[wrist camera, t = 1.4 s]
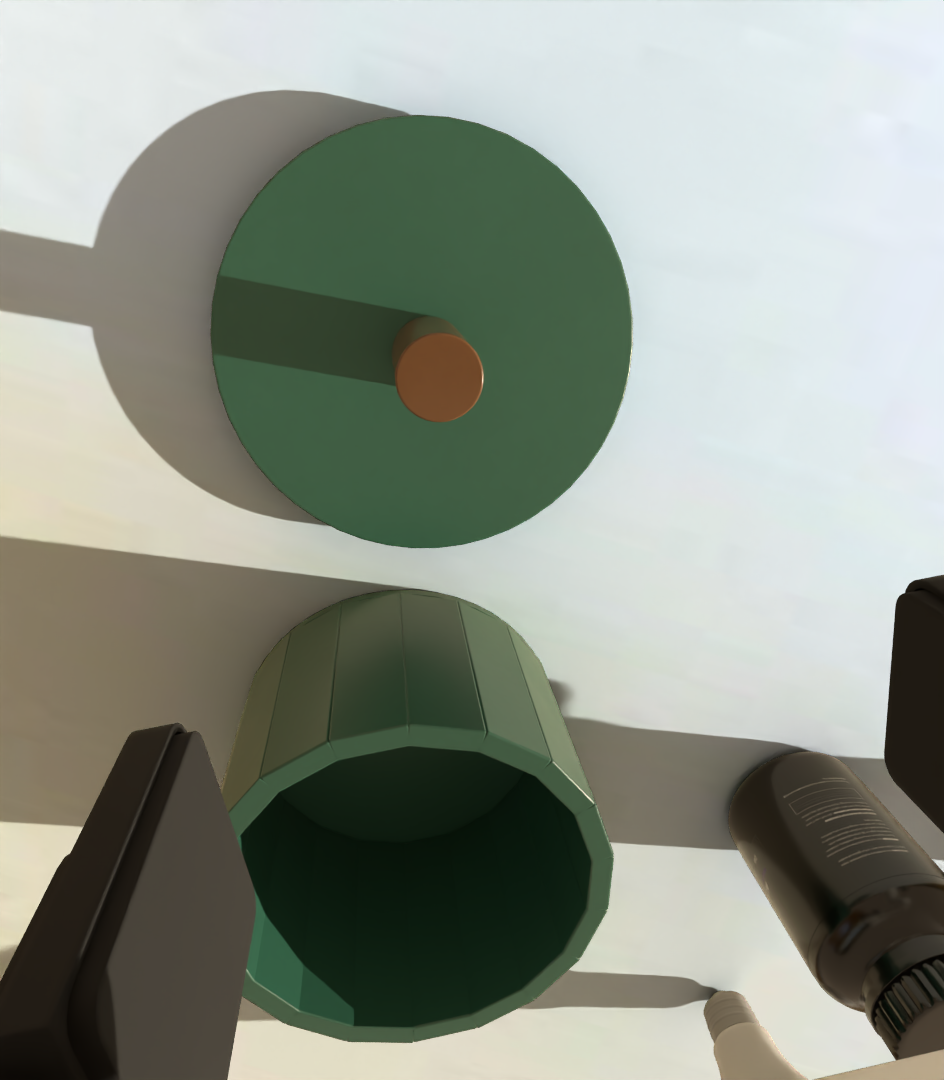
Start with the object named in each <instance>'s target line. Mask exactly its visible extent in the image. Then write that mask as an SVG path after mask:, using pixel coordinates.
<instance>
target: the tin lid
mask: <svg viewBox="0 0 944 1080" xmlns="http://www.w3.org/2000/svg"><path fill="white" fill-rule="evenodd" d="M210 334H211V346H212V358H213V366H214V370H215V375H216V379H217V384H218V389H219V392H220V395H221V398H222V401H223V404H224V406H225V409H226V412H227V415H228V418H229V420H230V422H231V424H232V426H233V428H234V430H235V431H236V433H237V435H238V437H239V439H240V441H241V443H242V445H243V446H244V448H245V449H246V451H247V452H248V453H249V455H250V456H251V458H252V459H253V461H254V462H255V464H256V465H257V466H258V468H259V469H260V470H261V471H262V472H263V473H264V474H265V476H266V477H267V478H268V479H269V480H270V481H271V482H272V484H273V485H274V486H275V487H276V488H278V489H279V490H280V491H281V492H282V493H283V494H284V495H285V496H287V497H288V498H289V499H290V500H291V501H292V502H293V503H294V504H296V505H297V506H299V507H300V508H302V509H303V510H305V511H306V512H308V513H309V514H310V515H312V516H313V517H315V518H316V519H318V520H320V521H322V522H324V523H326V524H328V525H330V526H332V527H334V528H336V529H337V530H340V531H342V532H345V533H348V534H350V535H353V536H356V537H358V538H361V539H364V540H368V541H372V542H376V543H381V544H385V545H391V546H399V547H408V548H440V547H448V546H456V545H463V544H467V543H471V542H475V541H478V540H482V539H486V538H489V537H491V536H494V535H497V534H499V533H502V532H504V531H507V530H509V529H511V528H513V527H515V526H517V525H519V524H521V523H523V522H524V521H526V520H528V519H530V518H532V517H533V516H535V515H536V514H538V513H539V512H540V511H542V510H543V509H545V508H546V507H548V506H549V505H550V504H552V503H553V502H554V501H555V500H556V499H557V498H559V497H560V496H561V495H562V494H563V493H564V492H565V491H566V490H567V489H569V488H570V487H571V486H572V484H573V483H574V482H575V481H576V480H577V479H578V478H579V477H580V475H581V474H582V473H583V472H584V471H585V470H586V469H587V467H588V466H589V464H590V463H591V462H592V460H593V459H594V457H595V456H596V454H597V453H598V451H599V450H600V448H601V447H602V445H603V443H604V441H605V439H606V438H607V436H608V434H609V432H610V430H611V428H612V426H613V424H614V422H615V419H616V416H617V414H618V411H619V408H620V406H621V403H622V401H623V398H624V393H625V389H626V385H627V381H628V377H629V373H630V365H631V356H632V347H633V319H632V310H631V303H630V296H629V289H628V285H627V282H626V278H625V274H624V270H623V266H622V263H621V260H620V258H619V255H618V253H617V250H616V248H615V246H614V243H613V241H612V238H611V236H610V234H609V232H608V231H607V229H606V227H605V225H604V224H603V222H602V220H601V218H600V217H599V215H598V213H597V211H596V210H595V209H594V207H593V206H592V205H591V203H590V202H589V201H588V200H587V198H586V197H585V196H584V194H583V193H582V192H581V190H580V189H579V188H578V187H577V186H576V185H575V184H574V183H573V182H572V181H571V180H570V179H569V178H568V177H567V176H566V175H565V174H564V173H563V172H562V171H561V170H560V169H559V168H558V167H557V166H556V165H555V164H553V163H552V162H551V161H549V160H548V159H547V158H545V157H544V156H543V155H541V154H540V153H539V152H537V151H536V150H534V149H533V148H531V147H530V146H528V145H526V144H524V143H522V142H520V141H519V140H517V139H515V138H513V137H511V136H509V135H508V134H505V133H503V132H500V131H497V130H495V129H492V128H489V127H487V126H484V125H481V124H479V123H474V122H470V121H465V120H460V119H456V118H451V117H441V116H426V115H412V116H400V117H388V118H383V119H379V120H375V121H371V122H367V123H363V124H358V125H355V126H353V127H351V128H348V129H346V130H343V131H341V132H338V133H336V134H333V135H331V136H328V137H327V138H325V139H323V140H322V141H320V142H318V143H317V144H315V145H313V146H311V147H310V148H308V149H306V150H305V151H303V152H302V153H300V154H299V155H298V156H297V157H295V158H294V159H293V160H292V161H290V162H289V163H288V164H287V165H286V166H284V167H283V168H282V169H281V170H279V171H278V172H277V173H276V174H275V175H274V177H273V178H272V179H271V180H270V181H269V182H268V183H267V184H266V185H265V186H264V187H263V189H262V190H261V191H260V192H259V193H258V194H257V195H256V197H255V198H254V200H253V201H252V203H251V204H250V206H249V207H248V209H247V210H246V211H245V213H244V214H243V216H242V217H241V219H240V221H239V223H238V225H237V227H236V229H235V231H234V233H233V235H232V237H231V239H230V241H229V243H228V245H227V247H226V250H225V253H224V256H223V259H222V262H221V265H220V268H219V271H218V275H217V280H216V285H215V290H214V296H213V301H212V313H211V333H210Z"/></svg>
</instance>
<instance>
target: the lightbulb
mask: <svg viewBox="0 0 944 1080" xmlns="http://www.w3.org/2000/svg"><path fill="white" fill-rule="evenodd" d="M704 1016H705V1019H706V1022H707V1025H708V1029H709V1031H710V1034H711V1037H712V1039H713V1041H714V1056H715V1058H716V1061H717V1064H718V1067H719V1071H720V1075H721V1080H808V1079H807V1078H806V1077H804V1076H803V1075H802V1074H800V1073H799V1072H798V1071H797V1070H796V1069H795V1068H794V1067H793V1066H792V1065H791V1064H790V1063H789V1062H788V1061H787V1060H786V1059H785V1058H784V1056H783V1055H782V1053H781V1052H780V1051H779V1049H778V1048H777V1047H776V1045H775V1043H774V1041H773V1040H772V1038H771V1036H770V1034H769V1033H768V1031H767V1030H766V1029H765V1028H764V1027H762V1026H760V1024H759V1021H758V1020H757V1018H756V1017H755V1014H754V1013H753V1011H752V1009H751V1007H750V1005H749V1004H748V1002H747V1000H746V999H745V997H744V996H743V995H741V994H739V993H737V992H734V991H718V992H716V993H715V994H713V996H712V997H711V998H710V999H709V1000H708V1001H707V1003H706V1005H705V1008H704Z"/></svg>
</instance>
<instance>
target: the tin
mask: <svg viewBox="0 0 944 1080" xmlns="http://www.w3.org/2000/svg"><path fill="white" fill-rule="evenodd" d="M220 791H221V794H222V797H223V799H224V802H225V805H226V808H227V811H228V814H229V817H230V820H231V823H232V826H233V828H234V831H235V834H236V837H237V840H238V843H239V846H240V849H241V852H242V854H243V857H244V860H245V863H246V866H247V869H248V872H249V875H250V878H251V881H252V883H253V887H254V891H255V898H256V915H255V922H254V928H253V934H252V940H251V945H250V951H249V957H248V963H247V968H246V974H245V980H244V986H243V991H242V996H243V997H244V998H246V999H247V1000H249V1001H250V1002H252V1003H253V1004H255V1005H256V1006H258V1007H259V1008H261V1009H263V1010H264V1011H266V1012H267V1013H269V1014H270V1015H272V1016H273V1017H275V1018H276V1019H278V1020H279V1021H281V1022H282V1023H286V1024H287V1025H290V1026H294V1027H297V1028H301V1029H304V1030H308V1031H311V1032H315V1033H319V1034H322V1035H326V1036H329V1037H333V1038H336V1039H340V1040H343V1041H347V1042H388V1043H413V1041H414V1042H417V1041H422V1040H426V1039H430V1038H435V1037H439V1036H444V1035H448V1034H453V1033H457V1032H462V1031H466V1030H471V1029H475V1028H479V1027H481V1026H483V1025H485V1024H487V1023H489V1022H491V1021H493V1020H495V1019H497V1018H500V1017H502V1016H504V1015H506V1014H508V1013H510V1012H512V1011H514V1010H516V1009H518V1008H520V1007H522V1006H524V1005H526V1004H528V1003H530V1002H532V1001H534V999H536V998H537V997H539V996H540V995H541V994H542V993H543V992H544V991H545V990H546V989H548V988H549V987H550V986H551V985H552V984H553V983H554V982H555V981H556V980H558V979H559V978H560V977H561V976H562V975H563V974H564V973H565V972H566V971H568V970H569V969H570V968H571V967H572V966H573V965H574V964H575V963H576V962H578V961H579V958H581V956H582V955H583V953H584V951H585V949H586V947H587V946H588V944H589V942H590V940H591V939H592V937H593V935H594V933H595V932H596V930H597V928H598V926H599V924H600V923H601V921H602V919H603V917H604V916H605V914H606V912H607V909H608V905H609V896H610V887H611V878H612V870H613V861H614V856H613V854H614V853H613V850H612V847H611V844H610V842H609V839H608V836H607V833H606V830H605V827H604V825H603V822H602V819H601V816H600V813H599V811H598V808H597V805H596V802H595V800H594V797H593V795H592V792H591V789H590V787H589V784H588V782H587V779H586V777H585V774H584V771H583V769H582V766H581V764H580V761H579V759H578V756H577V753H576V751H575V748H574V746H573V743H572V741H571V738H570V735H569V733H568V730H567V728H566V725H565V723H564V720H563V717H562V715H561V712H560V710H559V707H558V705H557V702H556V699H555V697H554V694H553V692H552V689H551V687H550V684H549V681H548V679H547V676H546V674H545V671H544V669H543V666H542V663H541V662H540V660H539V659H538V658H537V656H536V655H535V654H534V652H533V650H532V649H531V648H530V647H529V645H528V644H527V643H526V642H525V640H524V639H523V638H522V637H521V636H520V635H519V634H518V633H517V632H516V631H515V630H514V629H513V628H512V627H511V626H510V625H508V624H507V623H506V622H504V621H503V620H501V619H500V618H499V617H497V616H496V615H494V614H493V613H491V612H489V611H487V610H485V609H484V608H482V607H480V606H478V605H476V604H474V603H471V602H468V601H465V600H463V599H460V598H457V597H454V596H449V595H445V594H441V593H436V592H429V591H419V590H390V591H382V592H375V593H369V594H365V595H361V596H357V597H353V598H349V599H347V600H344V601H342V602H339V603H336V604H334V605H331V606H329V607H327V608H325V609H323V610H321V611H319V612H318V613H316V614H314V615H312V616H310V617H309V618H307V619H306V620H305V621H303V622H302V623H300V624H299V625H297V626H296V627H295V628H293V629H292V630H291V631H290V632H289V633H288V634H287V635H286V636H285V637H284V638H283V639H281V640H280V641H279V642H278V643H277V645H276V646H275V647H274V648H273V650H272V651H271V652H270V653H269V654H268V656H267V657H266V658H265V660H264V662H263V663H262V665H261V667H260V668H259V670H258V671H257V672H256V674H255V676H254V679H253V682H252V685H251V688H250V690H249V694H248V697H247V700H246V703H245V707H244V710H243V713H242V716H241V719H240V722H239V726H238V729H237V733H236V737H235V740H234V744H233V747H232V751H231V754H230V758H229V761H228V765H227V768H226V772H225V776H224V779H223V783H222V786H221V790H220Z"/></svg>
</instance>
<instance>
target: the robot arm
mask: <svg viewBox="0 0 944 1080" xmlns="http://www.w3.org/2000/svg"><path fill="white" fill-rule="evenodd" d="M884 758H885V763H886V767H887V770H888V772H889V774H890V776H891V778H892V779H893V781H894V782H895V783H896V784H897V785H898V786H899V787H900V788H901V790H902V791H903V792H904V793H905V794H906V795H907V796H908V797H909V798H910V799H911V800H912V801H913V802H914V803H915V804H916V805H917V806H918V807H919V808H920V809H921V810H922V811H923V812H924V813H925V814H926V815H927V816H928V817H929V819H930V820H931V821H932V822H933V823H934V824H935V825H936V826H937V827H938V828H939V829H940V830H941V831H942V832H943V833H944V575H940V576H935V577H930V578H925V579H920V580H915V581H913V582H911V583H910V584H909V585H908V587H907V589H906V592H905V593H904V594H902V595H900V596H899V598H898V599H897V602H896V609H895V622H894V635H893V648H892V660H891V673H890V686H889V699H888V712H887V725H886V738H885V751H884ZM255 915H256V898H255V891H254V887H253V883H252V881H251V878H250V875H249V872H248V869H247V866H246V863H245V860H244V857H243V854H242V852H241V849H240V846H239V843H238V840H237V837H236V834H235V831H234V828H233V826H232V823H231V820H230V817H229V814H228V811H227V808H226V805H225V802H224V799H223V797H222V794H221V791H220V788H219V785H218V782H217V779H216V776H215V773H214V770H213V768H212V765H211V762H210V759H209V756H208V753H207V750H206V747H205V744H204V742H203V739H202V737H201V735H200V734H199V732H197V731H193V732H188V733H187V732H186V730H185V728H184V727H183V726H182V724H179V723H174V724H169V725H164V726H159V727H154V728H149V729H143V730H138V731H134V732H132V733H131V734H130V735H129V737H128V738H127V740H126V742H125V744H124V746H123V748H122V750H121V752H120V754H119V756H118V758H117V760H116V762H115V764H114V766H113V768H112V770H111V772H110V774H109V777H108V779H107V781H106V783H105V785H104V787H103V789H102V791H101V793H100V795H99V797H98V799H97V801H96V803H95V805H94V807H93V809H92V811H91V813H90V815H89V817H88V819H87V821H86V823H85V825H84V827H83V829H82V831H81V833H80V835H79V837H78V839H77V841H76V843H75V845H74V847H73V849H72V851H71V853H70V854H69V855H67V856H66V857H65V858H64V859H63V861H62V862H61V864H60V865H59V867H58V868H57V870H56V872H55V874H54V876H53V878H52V880H51V882H50V884H49V886H48V888H47V890H46V892H45V894H44V896H43V898H42V900H41V902H40V904H39V906H38V908H37V910H36V912H35V914H34V916H33V918H32V920H31V922H30V924H29V926H28V928H27V930H26V932H25V934H24V936H23V938H22V940H21V942H20V944H19V946H18V948H17V950H16V952H15V953H14V955H13V957H12V959H11V961H10V963H9V965H8V967H7V969H6V971H5V973H4V975H3V977H2V979H1V981H0V1080H227V1078H228V1072H229V1066H230V1060H231V1055H232V1049H233V1043H234V1037H235V1032H236V1026H237V1020H238V1014H239V1009H240V1003H241V997H242V991H243V986H244V980H245V974H246V968H247V963H248V957H249V951H250V945H251V940H252V934H253V928H254V922H255ZM814 1080H944V1050H939V1051H935V1052H931V1053H926V1054H922V1055H918V1056H913V1057H909V1058H905V1059H900V1060H896V1061H892V1062H887V1063H883V1064H879V1065H874V1066H870V1067H866V1068H861V1069H857V1070H853V1071H848V1072H844V1073H840V1074H835V1075H831V1076H827V1077H822V1078H818V1079H814Z"/></svg>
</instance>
